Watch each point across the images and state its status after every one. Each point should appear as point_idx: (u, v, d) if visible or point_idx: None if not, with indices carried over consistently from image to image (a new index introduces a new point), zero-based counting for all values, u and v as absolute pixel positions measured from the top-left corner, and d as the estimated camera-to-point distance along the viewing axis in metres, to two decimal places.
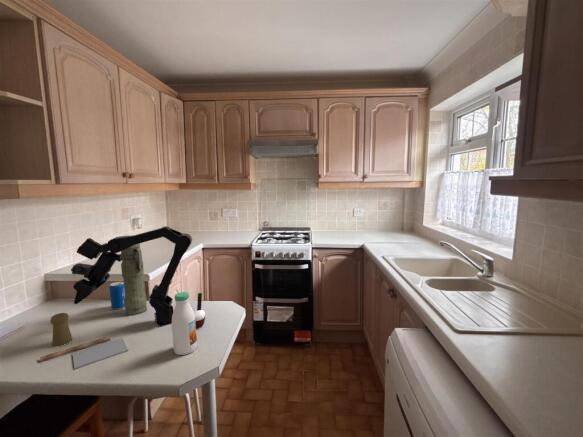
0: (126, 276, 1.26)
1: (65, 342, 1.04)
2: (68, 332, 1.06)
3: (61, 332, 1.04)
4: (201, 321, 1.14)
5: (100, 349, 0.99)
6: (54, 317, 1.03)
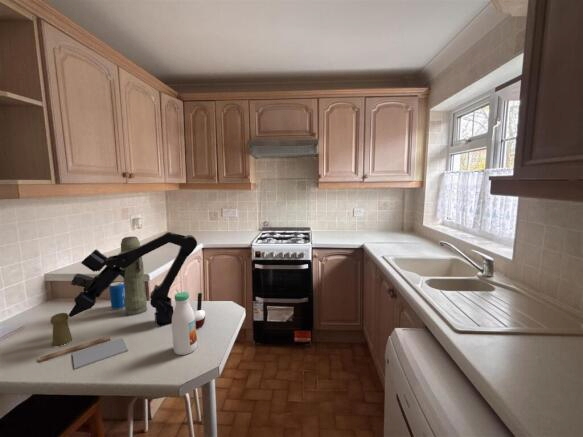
0: (126, 276, 1.26)
1: (65, 342, 1.04)
2: (68, 332, 1.06)
3: (61, 332, 1.04)
4: (201, 321, 1.14)
5: (100, 349, 0.99)
6: (54, 317, 1.03)
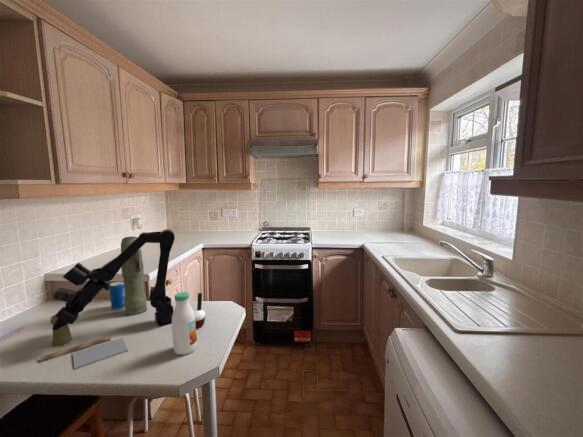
0: (126, 276, 1.26)
1: (65, 342, 1.04)
2: (68, 332, 1.06)
3: (61, 332, 1.04)
4: (201, 321, 1.14)
5: (100, 349, 0.99)
6: (54, 317, 1.03)
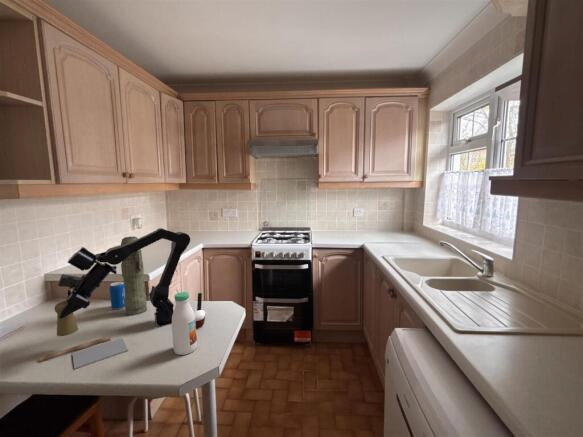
0: (126, 276, 1.26)
1: (72, 330, 0.99)
2: (74, 320, 1.01)
3: (68, 320, 0.98)
4: (201, 321, 1.14)
5: (100, 349, 0.99)
6: (60, 305, 0.97)
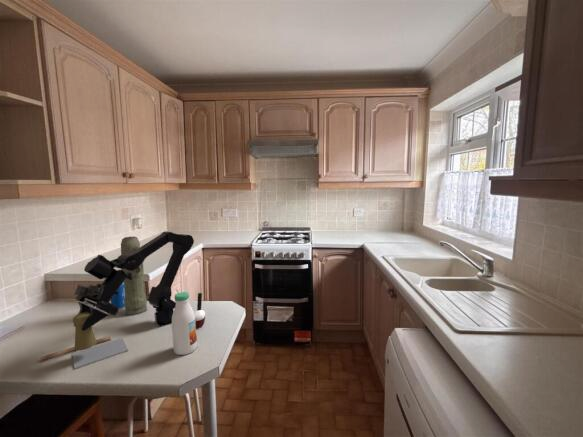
0: None
1: (94, 342, 0.95)
2: (93, 332, 0.96)
3: (89, 332, 0.94)
4: (201, 321, 1.14)
5: (100, 349, 0.99)
6: (80, 317, 0.92)
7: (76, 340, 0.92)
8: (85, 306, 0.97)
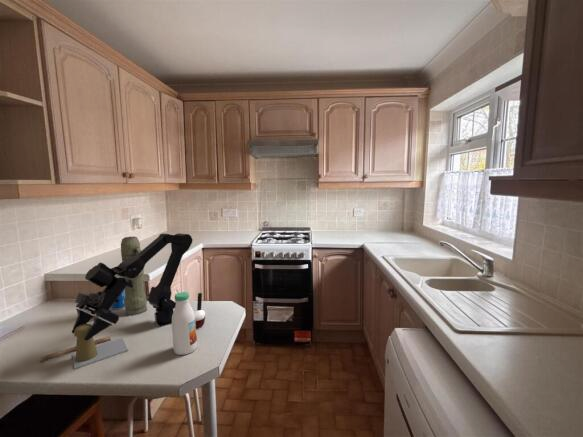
0: None
1: (95, 353, 0.96)
2: (94, 343, 0.97)
3: (90, 343, 0.94)
4: (201, 321, 1.14)
5: (100, 349, 0.99)
6: (82, 328, 0.93)
7: (77, 352, 0.93)
8: (83, 313, 0.99)
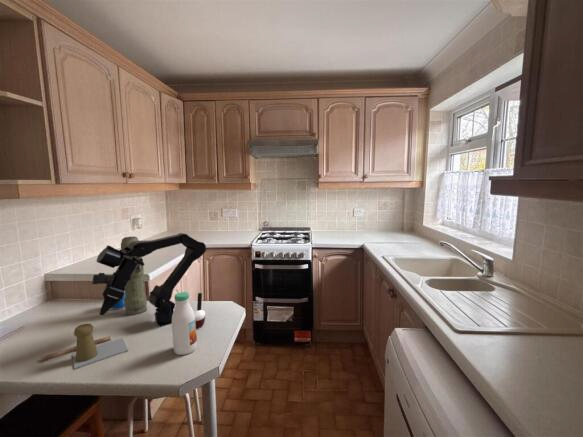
0: None
1: (95, 353, 0.96)
2: (94, 343, 0.97)
3: (90, 343, 0.94)
4: (201, 321, 1.14)
5: (100, 349, 0.99)
6: (82, 328, 0.93)
7: (77, 352, 0.93)
8: None
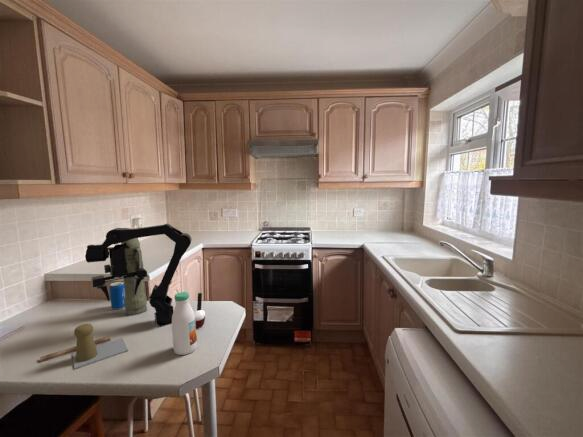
0: None
1: (95, 353, 0.96)
2: (94, 343, 0.97)
3: (90, 343, 0.94)
4: (201, 321, 1.14)
5: (100, 349, 0.99)
6: (82, 328, 0.93)
7: (77, 352, 0.93)
8: (134, 278, 1.18)
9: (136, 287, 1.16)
